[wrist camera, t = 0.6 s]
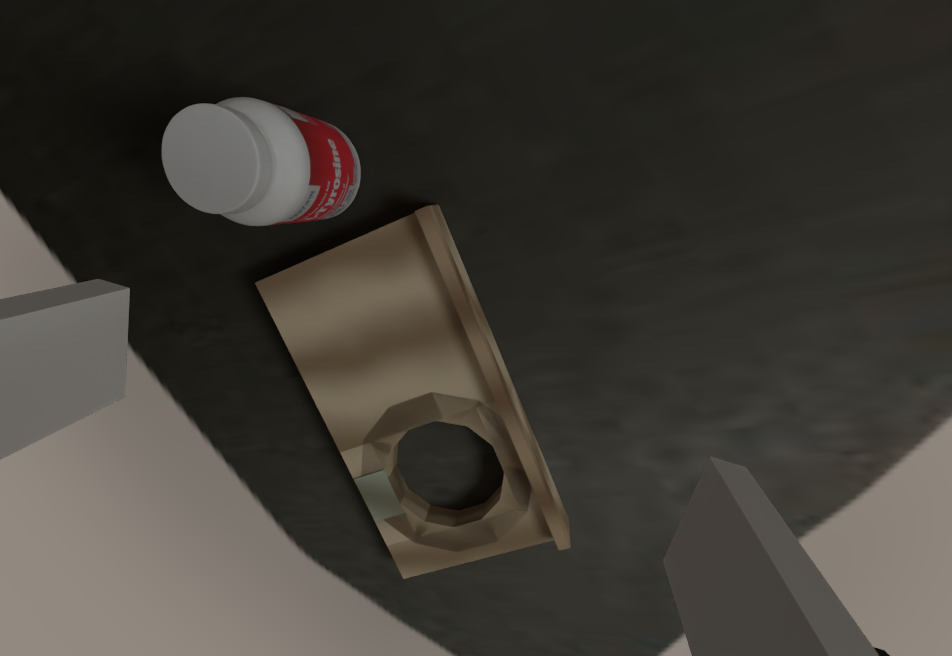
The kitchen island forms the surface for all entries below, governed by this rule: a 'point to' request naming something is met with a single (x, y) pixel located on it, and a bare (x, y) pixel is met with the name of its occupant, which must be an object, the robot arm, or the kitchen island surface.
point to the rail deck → (413, 387)
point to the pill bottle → (259, 162)
